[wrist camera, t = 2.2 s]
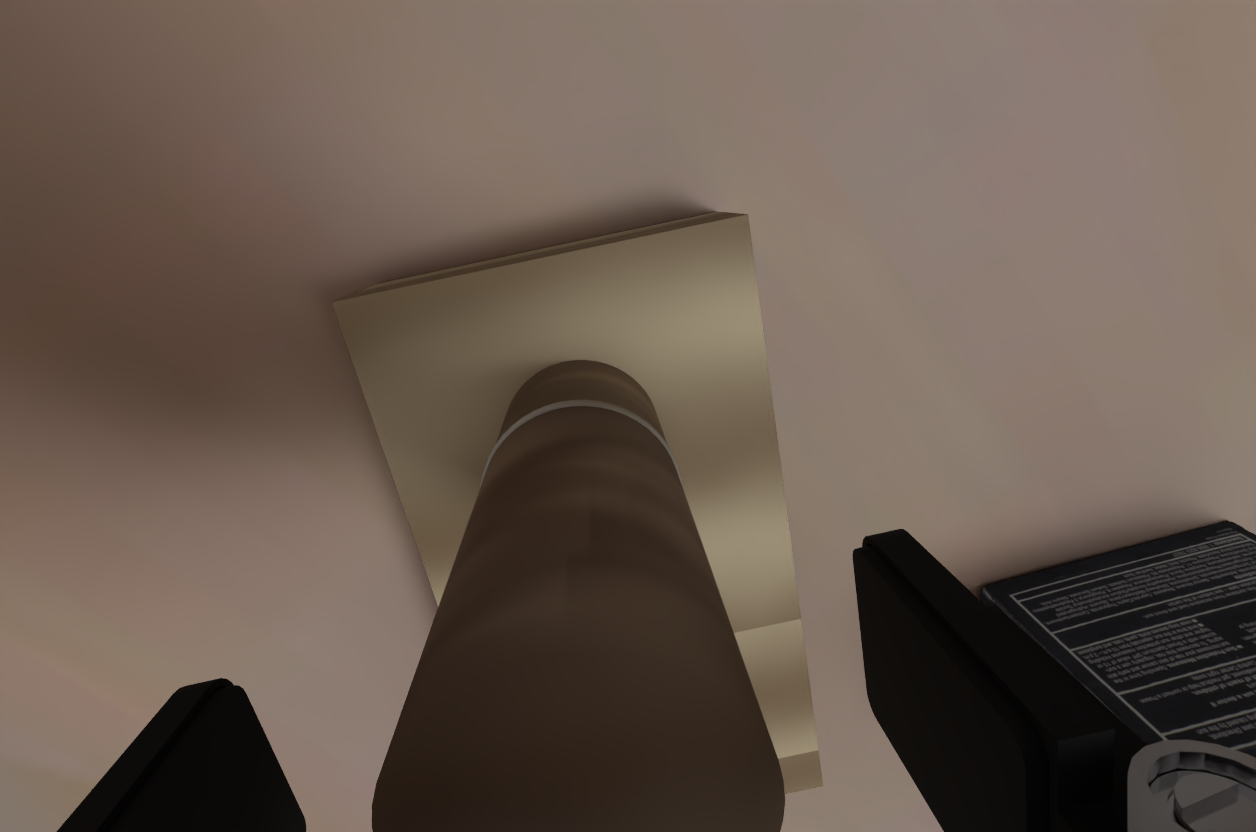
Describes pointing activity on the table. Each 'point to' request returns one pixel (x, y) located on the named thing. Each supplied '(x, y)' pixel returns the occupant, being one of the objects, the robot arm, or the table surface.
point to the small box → (1154, 632)
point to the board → (648, 352)
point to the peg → (580, 643)
